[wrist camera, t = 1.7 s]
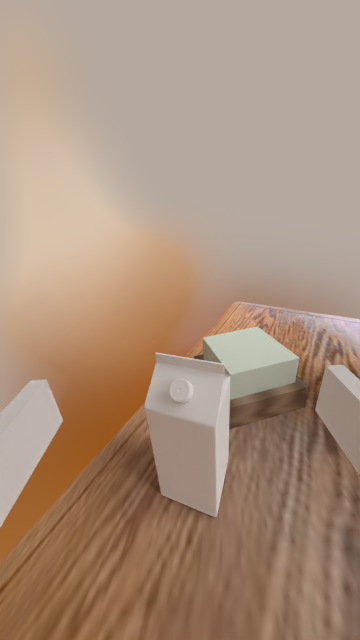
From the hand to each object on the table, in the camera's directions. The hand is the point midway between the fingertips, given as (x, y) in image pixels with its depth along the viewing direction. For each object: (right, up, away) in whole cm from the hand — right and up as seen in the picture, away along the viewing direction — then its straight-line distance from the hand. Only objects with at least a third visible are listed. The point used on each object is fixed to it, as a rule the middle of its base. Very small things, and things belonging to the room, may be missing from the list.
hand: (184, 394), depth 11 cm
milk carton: (+2, -17, +19) cm, 26 cm away
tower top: (+12, -6, +31) cm, 34 cm away
